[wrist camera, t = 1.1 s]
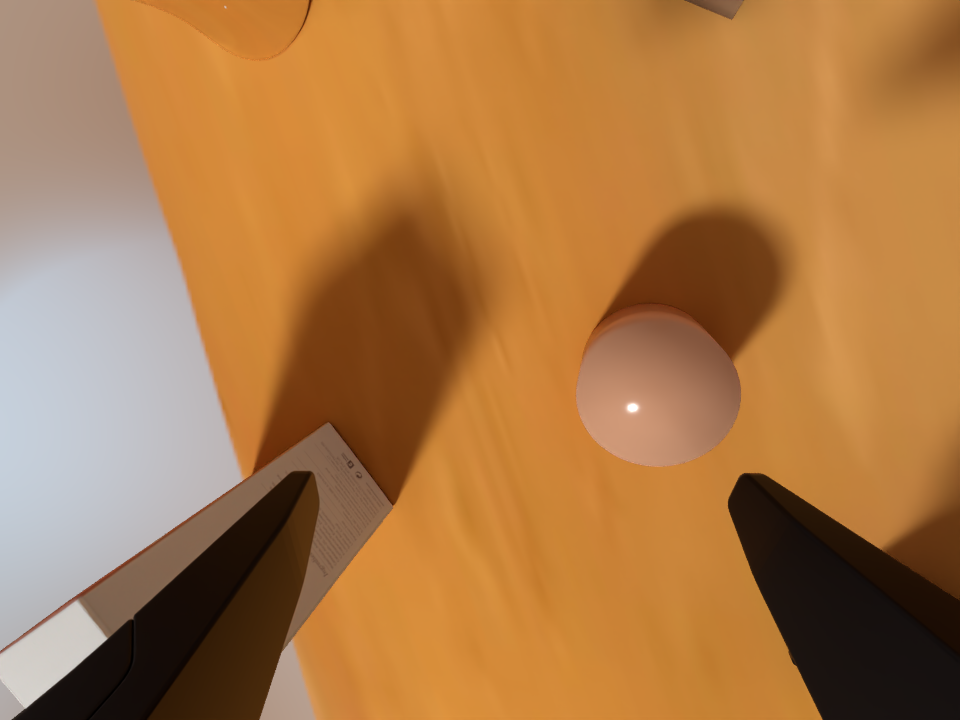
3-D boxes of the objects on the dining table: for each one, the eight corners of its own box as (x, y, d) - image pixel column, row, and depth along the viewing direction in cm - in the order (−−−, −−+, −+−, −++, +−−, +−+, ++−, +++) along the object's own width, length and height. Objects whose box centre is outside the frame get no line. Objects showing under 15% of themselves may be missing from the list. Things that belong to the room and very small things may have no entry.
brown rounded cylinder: (743, 341, 18) (777, 371, 15) (668, 443, 20) (681, 491, 17) (622, 280, 19) (625, 294, 15) (560, 385, 21) (550, 420, 17)
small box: (330, 417, 25) (73, 596, 13) (397, 506, 26) (209, 757, 14) (247, 476, 28) (-22, 665, 16) (308, 555, 29) (91, 794, 17)
